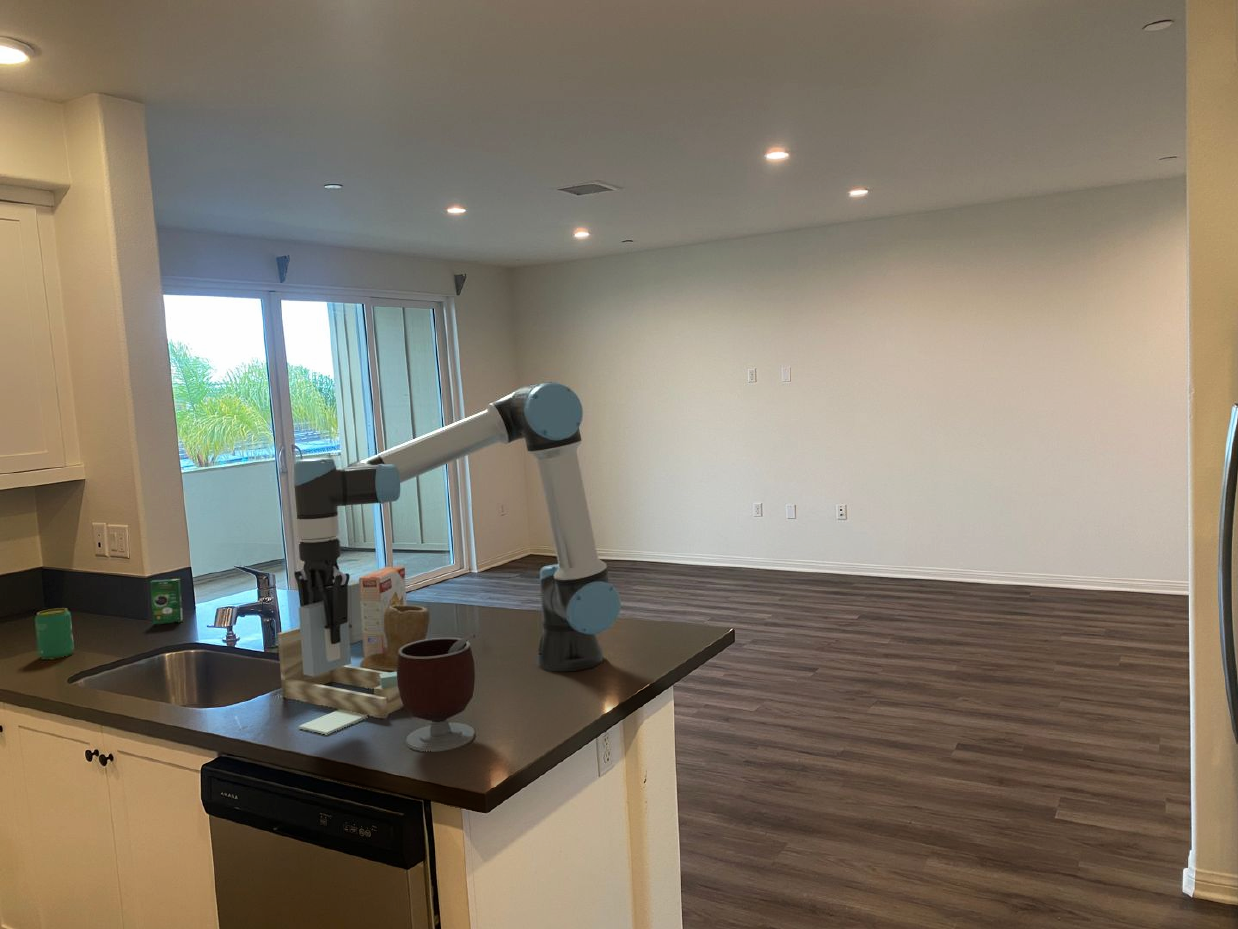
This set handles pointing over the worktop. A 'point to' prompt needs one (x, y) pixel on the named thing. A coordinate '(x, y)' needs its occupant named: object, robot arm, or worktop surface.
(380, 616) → the cracker box
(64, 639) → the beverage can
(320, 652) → the tall white upright block
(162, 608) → the coffee box
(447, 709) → the mate gourd
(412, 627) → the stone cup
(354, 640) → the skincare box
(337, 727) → the pad
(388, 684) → the offcut teal
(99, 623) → the worktop surface
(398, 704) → the offcut oak
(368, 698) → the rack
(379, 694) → the offcut pine
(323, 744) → the worktop surface
